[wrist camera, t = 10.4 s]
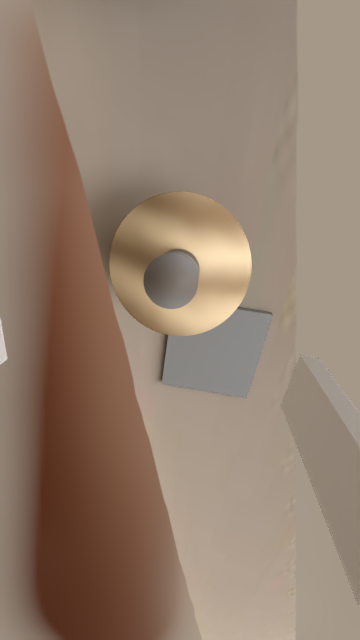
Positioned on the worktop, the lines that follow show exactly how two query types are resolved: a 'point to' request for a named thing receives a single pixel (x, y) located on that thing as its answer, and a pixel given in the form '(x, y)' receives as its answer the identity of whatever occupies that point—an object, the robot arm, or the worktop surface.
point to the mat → (218, 355)
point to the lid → (180, 263)
